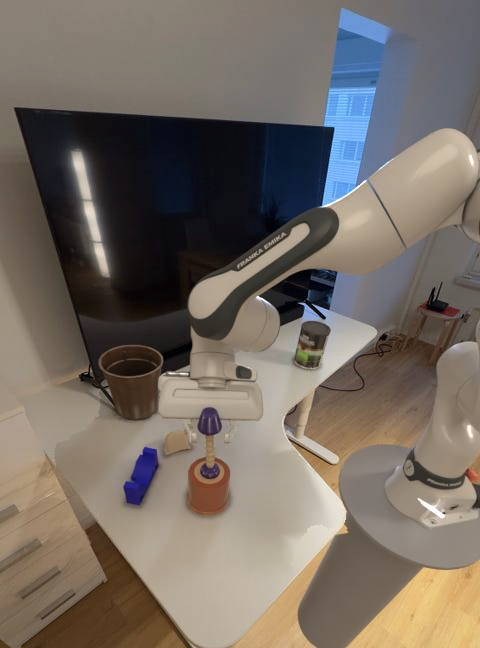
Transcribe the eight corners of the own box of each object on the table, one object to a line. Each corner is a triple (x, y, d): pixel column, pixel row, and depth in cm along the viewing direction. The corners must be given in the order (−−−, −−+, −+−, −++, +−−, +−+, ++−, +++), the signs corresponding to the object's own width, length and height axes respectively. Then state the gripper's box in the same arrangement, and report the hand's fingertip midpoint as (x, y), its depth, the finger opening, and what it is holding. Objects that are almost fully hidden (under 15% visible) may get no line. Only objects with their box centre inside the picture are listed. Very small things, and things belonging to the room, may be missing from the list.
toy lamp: (198, 480, 71) (199, 420, 60) (195, 464, 74) (195, 404, 63) (221, 478, 72) (226, 418, 61) (217, 461, 75) (221, 402, 64)
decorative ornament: (161, 445, 90) (159, 430, 87) (191, 437, 93) (191, 423, 90) (165, 455, 88) (164, 441, 84) (196, 447, 91) (196, 433, 87)
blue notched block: (141, 462, 85) (138, 445, 81) (158, 465, 85) (156, 449, 81) (120, 501, 76) (116, 484, 72) (139, 505, 76) (136, 489, 72)
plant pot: (158, 386, 109) (153, 340, 98) (173, 417, 99) (170, 370, 88) (104, 396, 103) (94, 349, 92) (114, 431, 93) (104, 382, 82)
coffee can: (309, 373, 123) (318, 337, 113) (288, 360, 128) (295, 325, 118) (326, 364, 128) (336, 329, 119) (305, 352, 133) (313, 318, 124)
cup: (228, 481, 83) (230, 455, 77) (229, 515, 76) (232, 489, 70) (188, 480, 82) (188, 454, 76) (186, 515, 75) (185, 489, 69)
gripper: (156, 366, 63) (153, 442, 62) (265, 371, 65) (264, 444, 64) (160, 373, 69) (158, 441, 69) (260, 377, 71) (259, 444, 71)
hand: (210, 443), depth 67 cm, fingers open, 5 cm apart
